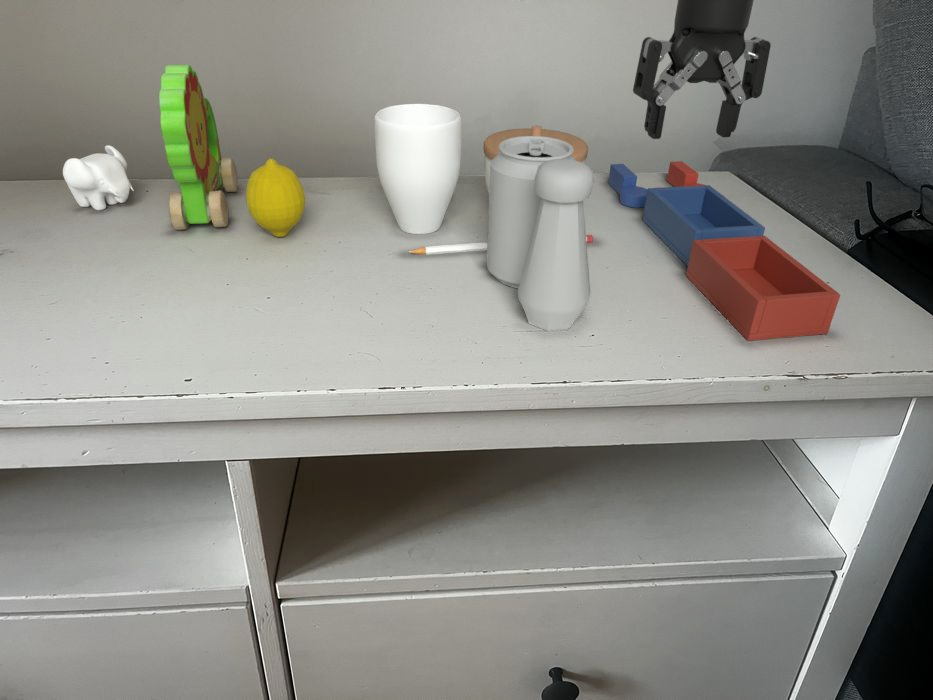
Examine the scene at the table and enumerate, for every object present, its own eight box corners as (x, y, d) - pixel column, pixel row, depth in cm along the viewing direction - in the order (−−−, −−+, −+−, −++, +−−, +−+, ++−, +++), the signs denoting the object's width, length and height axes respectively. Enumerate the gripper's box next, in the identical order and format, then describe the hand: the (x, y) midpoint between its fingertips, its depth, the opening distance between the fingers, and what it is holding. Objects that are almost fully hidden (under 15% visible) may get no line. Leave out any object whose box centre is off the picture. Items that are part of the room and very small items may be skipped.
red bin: (755, 270, 67) (764, 235, 66) (827, 334, 58) (840, 294, 56) (685, 275, 66) (693, 239, 64) (747, 340, 57) (758, 301, 55)
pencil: (593, 243, 72) (593, 237, 72) (408, 257, 69) (407, 250, 68) (590, 240, 73) (591, 234, 72) (407, 253, 69) (406, 247, 69)
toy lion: (193, 187, 83) (165, 46, 75) (241, 185, 84) (219, 45, 75) (166, 245, 70) (129, 81, 61) (224, 242, 70) (196, 80, 62)
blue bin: (702, 216, 78) (709, 185, 76) (756, 262, 69) (765, 227, 67) (642, 220, 77) (647, 187, 75) (688, 267, 68) (695, 231, 66)
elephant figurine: (108, 222, 74) (93, 166, 71) (49, 210, 76) (32, 155, 73) (155, 200, 79) (143, 147, 76) (98, 189, 82) (84, 137, 78)
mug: (462, 242, 72) (464, 126, 65) (378, 243, 71) (372, 126, 65) (455, 198, 82) (456, 94, 75) (381, 198, 81) (376, 94, 75)
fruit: (303, 221, 75) (295, 145, 71) (313, 243, 71) (305, 163, 66) (249, 228, 73) (237, 150, 69) (255, 250, 69) (242, 169, 65)
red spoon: (660, 181, 88) (663, 161, 86) (684, 180, 88) (688, 160, 87) (688, 205, 81) (692, 184, 80) (714, 203, 82) (719, 183, 80)
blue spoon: (601, 183, 86) (604, 164, 85) (626, 182, 87) (629, 163, 86) (625, 208, 80) (628, 187, 79) (652, 207, 80) (656, 186, 79)
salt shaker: (595, 311, 61) (615, 158, 53) (574, 343, 56) (593, 182, 49) (530, 295, 63) (541, 147, 55) (505, 326, 58) (514, 169, 51)
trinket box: (460, 210, 78) (462, 123, 73) (530, 189, 84) (536, 107, 79) (530, 243, 72) (537, 149, 67) (600, 217, 78) (612, 129, 73)
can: (480, 289, 63) (484, 155, 57) (491, 253, 70) (497, 128, 63) (566, 297, 62) (580, 161, 56) (569, 260, 69) (583, 134, 62)
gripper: (670, -19, 69) (642, 148, 78) (803, -17, 72) (762, 144, 81) (640, -27, 76) (618, 128, 84) (763, -25, 78) (729, 125, 87)
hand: (688, 136), depth 83 cm, fingers open, 8 cm apart
